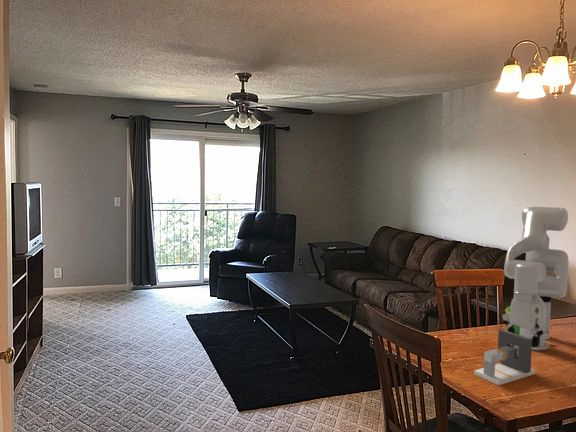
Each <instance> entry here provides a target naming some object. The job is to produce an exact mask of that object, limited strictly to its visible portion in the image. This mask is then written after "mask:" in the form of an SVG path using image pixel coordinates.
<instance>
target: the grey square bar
mask: <svg viewBox="0 0 576 432" xmlns="http://www.w3.org/2000/svg"><path fill="white" fill-rule="evenodd" d="M518 349H519V347H518V346H515V345H512V344H511V345H510V346H506V347H502V348H498V347H495V348H494V349H490V350H487V351H484V355H483V357H484V358H483V361H484V360H485V361H488V362H490V363H494V362H495V363H497V362H498V361H501V360H502V361H504V360H505V359H508V358H512V357H516V356H518Z"/></svg>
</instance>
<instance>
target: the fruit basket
mask: <svg viewBox="0 0 576 432" xmlns="http://www.w3.org/2000/svg"><path fill="white" fill-rule="evenodd" d="M505 312H506V313H505V314H508V313H509V312H510V306H506V308H505ZM508 320H509V317H508ZM513 328H515V334H518V335H520V327H517V326H514V327H513Z"/></svg>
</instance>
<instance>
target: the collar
mask: <svg viewBox="0 0 576 432" xmlns="http://www.w3.org/2000/svg"><path fill="white" fill-rule="evenodd" d="M497 341H498V343H497V348H502V347H506V346H510V345H515V346H518V347H519V349H518V357H517V356H516V357H512V358H508V359H505V360H504V361H502V360H501V361H497V362H498V363H503V364H506V365H508V366H511V367H513V368H516V369H518V370H521V371H524V372H526V373H529V372H531V369H532V354H533V353H532V351H533V350H532V339H530V338H527V337H524V336H521V335H520V334H516V333H512V332H509V331H508V330H505V329H499V330H498V340H497Z"/></svg>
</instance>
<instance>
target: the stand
mask: <svg viewBox="0 0 576 432" xmlns="http://www.w3.org/2000/svg"><path fill="white" fill-rule="evenodd" d="M517 357H518V356H517ZM473 372H474V376H477V377H479V378H481V379H483V380H486V381H488V382H490V383H493V384H495V385H497V386H500V385H504V384H508V383H510V382H513V381H516V380H517V381H518V380H520V379H522V378H527V377H529V376H532V375H535V374H536V370H535V369H533V368H531V372H529V373H526V372H524V371H521V370H518V369H516V368H513V367H511V366H508V365H506V364H503V363H501V362H499V363H496V362H494V363H490V362H488V361H485V360H484V359H483V367H482V368H479V369H475V370H474V371H473Z"/></svg>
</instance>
